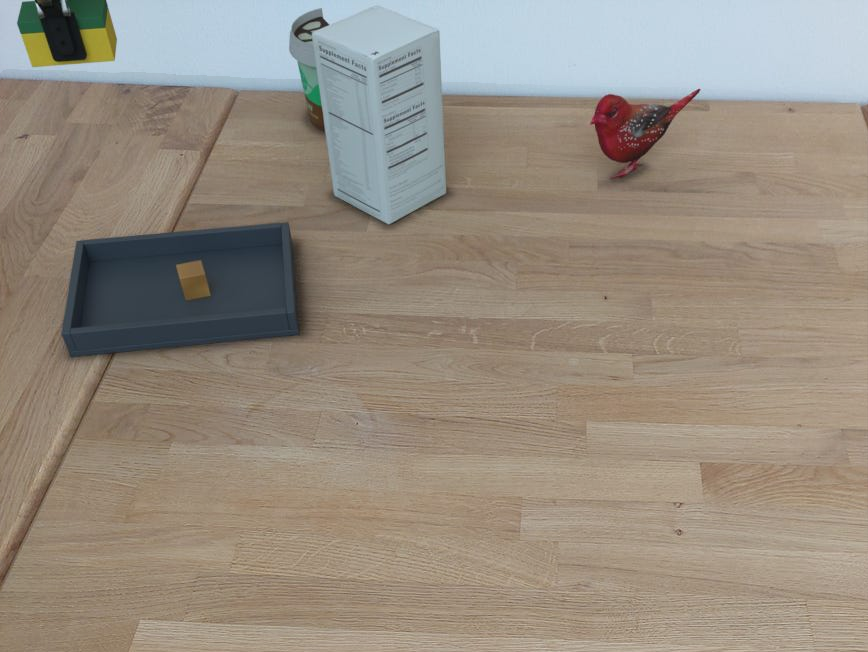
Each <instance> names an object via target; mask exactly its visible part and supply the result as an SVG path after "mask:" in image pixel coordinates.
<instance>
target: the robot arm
mask: <svg viewBox="0 0 868 652" xmlns="http://www.w3.org/2000/svg"><path fill="white" fill-rule="evenodd" d="M34 1H35V4H36V7H37V11H38V14H39V18H40V21H41V24H42V27H43V30H44V33H45V36H46V39H47V42H48V45H49V48H50V51H51V54H52V57H53V59H54V60H55V61H56V62H62V61H75V60H85V59H86V56H87V53H86V50H85V46H84V43H83V40H82V37H81V33H80V30H79V27H78V23H77V20H76V17H75V14H74V12H70V8H69V5H68V1H67V0H34Z"/></svg>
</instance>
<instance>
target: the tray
mask: <svg viewBox="0 0 868 652" xmlns="http://www.w3.org/2000/svg"><path fill="white" fill-rule="evenodd" d="M291 233H292V232H291V228H290V223H289V221H286V222H284V221H283V222H274V223H273V222H272V223H261V224H259V223H258V224H248V225H237V226H229V227H228V226H225V227H217V228H215V227H214V228H204V229H203V228H202V229H194V230H192V229H191V230H183V231H181V230H180V231H169V232H159V233H148V234H135V235H125V236H123V235H122V236H114V237H102V238H91V239H90V238H89V239H80V240H76V241H75V247H74V253H73V260H72V266H71V272H70V279H69V283H68V284H69V285H68V289H67V290H68V291H67V296H66V297H67V298H66V303H65V308H64V315H63V321H62V329H61V332H60V333H61V334H60V335H61V338H62V339H63V342H64V344H65V346H66V349H67V351H68V354H69V356H70V357H71V358H74V357H75V358H76V357H84V356H95V355H105V354H114V353H115V354H116V353H124V352H134V351H135V352H136V351H146V350H147V351H148V350H155V349H157V350H158V349H165V348H177V347H188V346H196V345H197V346H198V345H207V344H216V343H227V342H237V341H247V340H257V339H258V340H259V339H267V338H269V339H270V338H277V337H288V336H297V335H298V336H299V335H300V327H299V315H298V314H299V313H298V300H297V299H298V298H297V286H296V274H295V272H296V271H295V261H294V260H295V259H294V246H293V245H294V244H293V238H292V234H291ZM199 260H201V261H202V265H203V268H204V271H205V275H206V279H207V282H208V286H209V290H210V294H211V296H208V297H203V298H198V299H193V300H188V301H186V299H185V296H184V293H183V289H182V286H181V282H180V279H179V275H178V271H177V267H176V265H178V264H183V263H188V262H193V261H199Z"/></svg>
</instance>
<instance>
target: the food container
mask: <svg viewBox="0 0 868 652" xmlns="http://www.w3.org/2000/svg"><path fill="white" fill-rule="evenodd" d="M323 13H324V12H323V7H320V8H319V7H318V8H315V9H312V10H309V11H308V12H305V13H303V14H301V15H300V16H298V17H297V18H296V19H295V20H294V21H293V22H292V25H291V29H290V31H289V41H288V42H289V43H288V51H289V53H290V55H291V57H292V58H293V59H295V60H296V62H297V67H298V71H299V76H300V80H301V84H302V90H303V94H304V98H305V104H306V107H307V113H308V117H309V121H310V124H311V125H312V126H313V127H314V128H315V129H317V130H318V131H320V132H324V133H325V126H324V118H323V111H322V104H321V97H320V90H319V83H318V76H317V68H316V61H315V54H314V47H313V40H312V33H313V32H315V31H317V30H319V29H321V28H324V27H326V26H328V25H330V23H328V21H326V19H325V18H324V14H323Z"/></svg>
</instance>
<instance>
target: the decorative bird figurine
mask: <svg viewBox="0 0 868 652" xmlns="http://www.w3.org/2000/svg"><path fill="white" fill-rule="evenodd" d="M700 91H701V88H697V89H696V90H694V91H692V92H691V93H689V94H687V95H686V96H684V97H683V98H681V99H679V100H677V101H676V102H675V103H673V104H672V105H669V106H666V105H663V104H656V103H641V104H631V103H629V102H628V101H627V100H626V99H625V98H624V97H622V96H621V95H618V94H612V93H609V94H605V95H604V96H603V97H601V98H600V100H599V101H598V103H597V104H596V107H595V110H594V115H593V117H592V118H591V121H590V122H589V126H591V125H594V130H595V132H596V136H597V141H598V145H599V147H600V150H601V151H602V153H603V154H604V156H606V158H608V159H609V160H611V161H612V162H613V161H614V162H617V163H620V164H625V163H626V164H627V163H628V165H627V166H626V167H625V168H624V169H621V170H619V172H618V173H617V174H615V175H613V176H611V177H609V180H613V179H615V178H623V177H626V176H627V175H628V174H630V173H631V172H633V171H635V170H638V167H639V166H643V164H642V162H638V161H639V160H640V159H641V158H642V157H643V156H645V155H647V153H648V152H649V151H650V150H651V149H652V148H653V147H654V146H655V144H657V142H659V141H660V140H661V139H662V138H663V136H664V135H665V134H666V132H667V131H668V128H669V127H670V125H671V124H672V122H673V120H674V119H675V117H676V116H677V115H678V114H679V113H680V112H681V111H682V110H683V109H684V108H685V107H686V106H687V105H689V103H690V102H691V101H693V99H694V98H695V97H697V95H699V94H700Z"/></svg>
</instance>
